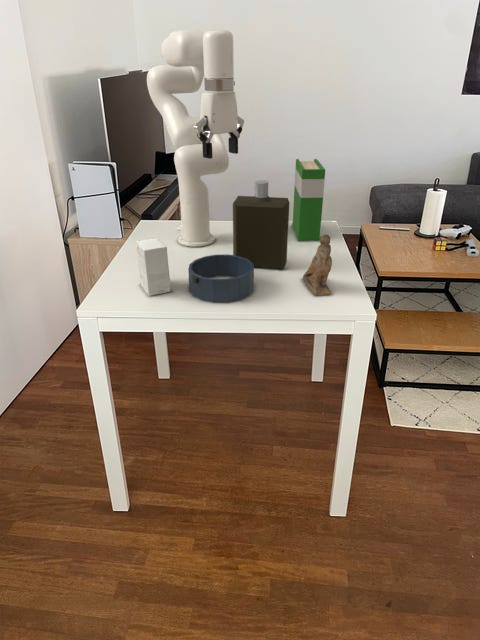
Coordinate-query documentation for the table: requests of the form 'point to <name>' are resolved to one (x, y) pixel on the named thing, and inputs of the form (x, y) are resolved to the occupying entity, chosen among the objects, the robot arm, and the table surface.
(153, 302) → the table surface
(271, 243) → the bottle
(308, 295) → the table surface
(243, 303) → the table surface
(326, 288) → the brown carved statuette
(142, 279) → the small box
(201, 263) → the blue-grey ring
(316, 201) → the hardback book
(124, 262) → the table surface
